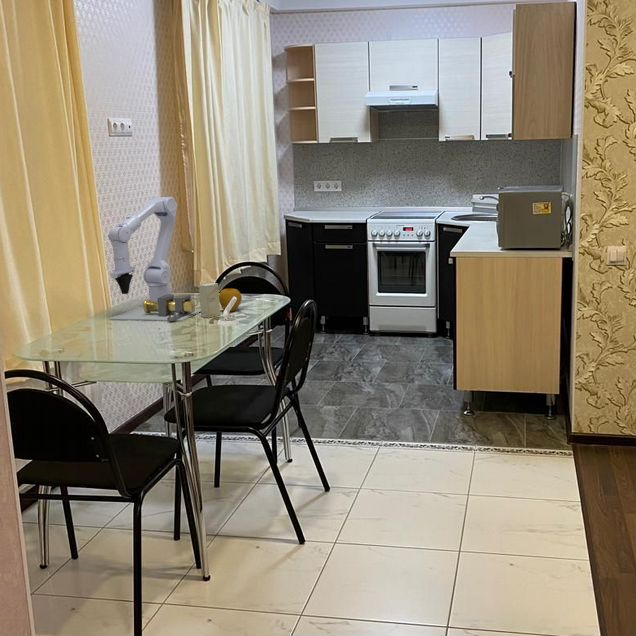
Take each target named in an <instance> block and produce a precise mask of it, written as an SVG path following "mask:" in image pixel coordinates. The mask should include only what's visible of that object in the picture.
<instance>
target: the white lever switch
mask: <svg viewBox="0 0 636 636" xmlns="http://www.w3.org/2000/svg"><path fill="white" fill-rule="evenodd" d="M236 300H237V298H236V297H235V296H234V297H233V298H232V299H231V301H230V303H229V304H228V306H227V307H226V309H225V310H224V309H223V314H222V313H221V314H222V318H220V319H218V321H217V324H218V325H217V326H219V325H221V326H220V327H232V326H237V325H238V324H240V322H239V320H238V318H236V317H231V314H230V312H229V311H230V310H231V308H232V307H233V305H234V304H235V302H236Z"/></svg>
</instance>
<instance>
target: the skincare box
mask: <svg viewBox="0 0 636 636" xmlns="http://www.w3.org/2000/svg"><path fill="white" fill-rule="evenodd" d="M198 291H199V292H198V293H199V302H200V310H201V313H200V317H201V318H205V317H208V318H207V319H210V317H211V318H215V317H219V316H221V304H220V301H219V294H220V291H219V283H217V282H215V283H214V282H207V283H204V284H203V283H202V284H199V285H198ZM218 315H219V316H218ZM214 316H215V317H214Z"/></svg>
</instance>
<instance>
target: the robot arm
mask: <svg viewBox="0 0 636 636" xmlns="http://www.w3.org/2000/svg"><path fill="white" fill-rule="evenodd" d="M177 203H178V202H176V200H175V198H174V197H172V196H164V197H163V196H152V197H151V198H150V199H149V200H147V203H146V204H145V205H144V206H143V207H142V208H141V209H140V210H139V211H137V213H135V215H134V214H129V215H127V216H126V218H125V219H124V220H122V222H119V223H118V224H117V226H113V227H112V228H110V229H109V232H108V235H107V237H108V239H109V241H110V243H111V246H112V253H113V264H114V269H113V270H112V272H111V273H110V276H111V277H110V278H111V279H114V280H115V281H116V283H117V284H118V286H119V289H120V291H121V294H122V295H128V294H129V291H130V285H131V281H132V279H133V277H134V276H133V274H132V273H135V272H136V269H135V268H136V267H135V266H131V259H130V252H129V242H130V240H131V237H132V235H133V234H134V233H135V232H136V231H138V230H139V229H140V228H141V226H142V222H144V220H146V219H147V218H149V217H150V216H151V215H153V214H154V215H155V216H156V217H157V219H159V220H160V227H159V233H158V236H157V241H156V244H155V245H156V246H155V250H154V254H153V258H152V260H151V261H149V262H148V264H147V266H146V268H145V270H144V272H143V281H144V282H145V283H146V284H147V285H146V286H148V293H149V294H148V295H149V296H148V297H149V300H150V301H158V300H157V298H159V297H161V296H164V295H166V294H172V289H171V286H170V285H169V282H170V281H171V267H170V265H169V264H168V262H167V261H168V259H169V255H170V254H169V253H170V249H171V245H172V241H173V236H174V232H175V227H176V222H177V210H178V206H179V205H178V204H177Z"/></svg>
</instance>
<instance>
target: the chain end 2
mask: <svg viewBox="0 0 636 636" xmlns="http://www.w3.org/2000/svg"><path fill="white" fill-rule="evenodd" d="M174 301H175V312H176V313H174V315H169V318H167V320H168V321H167V322H176V321H175V320H177V319H180V318H182V317H184V316H186V315H188V314H190V313H192V312H184V305H183V302H192V297H191V294H180V295H179V296H176V297H174Z"/></svg>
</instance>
